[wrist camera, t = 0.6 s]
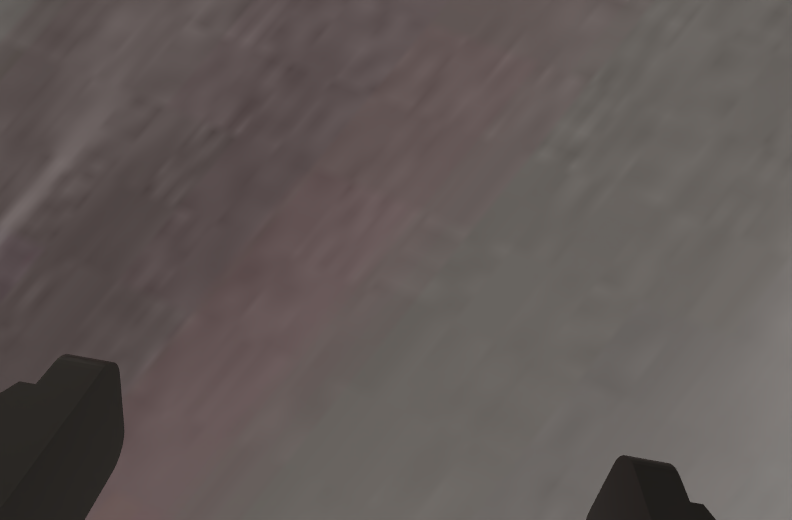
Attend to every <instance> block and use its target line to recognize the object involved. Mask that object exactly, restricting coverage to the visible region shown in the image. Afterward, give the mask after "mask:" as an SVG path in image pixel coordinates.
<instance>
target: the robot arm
mask: <svg viewBox="0 0 792 520" xmlns="http://www.w3.org/2000/svg"><path fill="white" fill-rule="evenodd" d="M123 439H124V420H123V408H122V396H121V383H120V372H119V368H118V365H117V364H116V363H114V362H108V361H103V360H97V359H92V358H86V357H80V356H75V355H69V354H65V355H62V356H61V357H59V358H58V359H57V360H56V361H55V362H54V363H53V364H52V366H51V367H50V368H49V369H48V370H47V372H46V373H45V374H44V375H43V376H42V377H41V379H40V380H39V381H38V382H37V383H36V384H31V383H25V382H20V381H19V382H18V383H16V384H14V385H13V386H11V387H10V388H8V389H6V390H5V391H3V392H1V393H0V520H85V518H86V516H87V515H88V513H89V511H90V509H91V508H92V506H93V504H94V503H95V501H96V499H97V497H98V496H99V494H100V492H101V491H102V489H103V487H104V485H105V484H106V482H107V480H108V479H109V477H110V475H111V473H112V472H113V470H114V468H115V466H116V464H117V461H118V459H119V456H120V453H121V449H122V445H123ZM586 520H716V519H715V518H714V517H713V516H712V514H711V513H710V512H709V511H708V510H707V508H706V507H705V506H704V505H703V504H698V503H692V502H690V501H689V498H688V496H687V493H686V491H685V488H684V486H683V483H682V481H681V478H680V476H679V474H678V471H677V470H676V468H675V467H674V466H673V465H671V464H670V463H664V462H659V461H653V460H647V459H642V458H636V457H631V456H625V455H622V456H620V457H619V458H618V459H617V460H616V461H615V463H614V465H613V467H612V469H611V471H610V473H609V474H608V476H607V478H606V480H605V482H604V484H603V486H602V488H601V490H600V492H599V494H598V496H597V498H596V500H595V501H594V503H593V505H592V507H591V509H590V511H589V513H588V516H587V519H586Z"/></svg>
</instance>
